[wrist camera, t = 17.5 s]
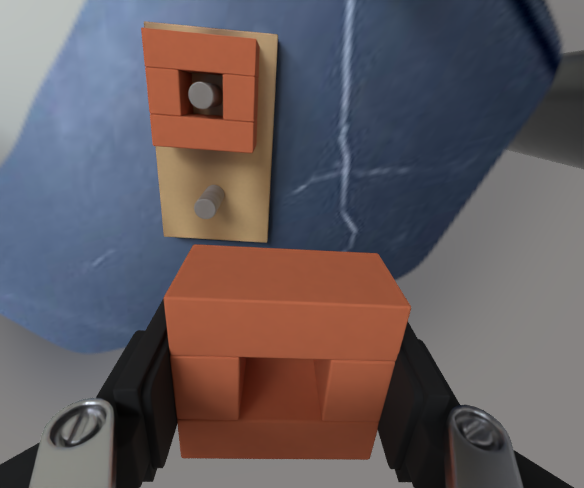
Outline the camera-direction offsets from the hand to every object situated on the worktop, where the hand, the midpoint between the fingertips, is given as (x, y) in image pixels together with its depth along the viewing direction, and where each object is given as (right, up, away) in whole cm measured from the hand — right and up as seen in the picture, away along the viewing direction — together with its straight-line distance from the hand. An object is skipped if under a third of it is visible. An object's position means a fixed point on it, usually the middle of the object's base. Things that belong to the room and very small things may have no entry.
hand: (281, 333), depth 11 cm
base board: (-5, +10, +13) cm, 17 cm away
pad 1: (-5, +13, +10) cm, 17 cm away
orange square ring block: (0, 0, +1) cm, 1 cm away
